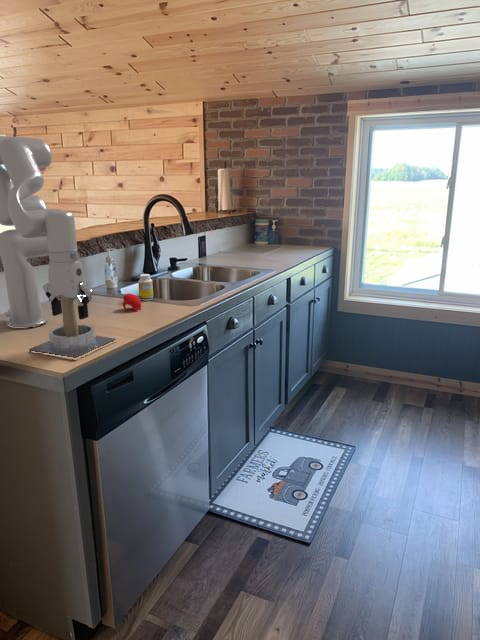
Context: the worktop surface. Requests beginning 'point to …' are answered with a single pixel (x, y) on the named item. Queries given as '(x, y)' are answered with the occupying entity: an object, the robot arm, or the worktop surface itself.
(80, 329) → the duct collar
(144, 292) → the supplement bottle
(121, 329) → the worktop surface
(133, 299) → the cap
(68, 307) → the handle
